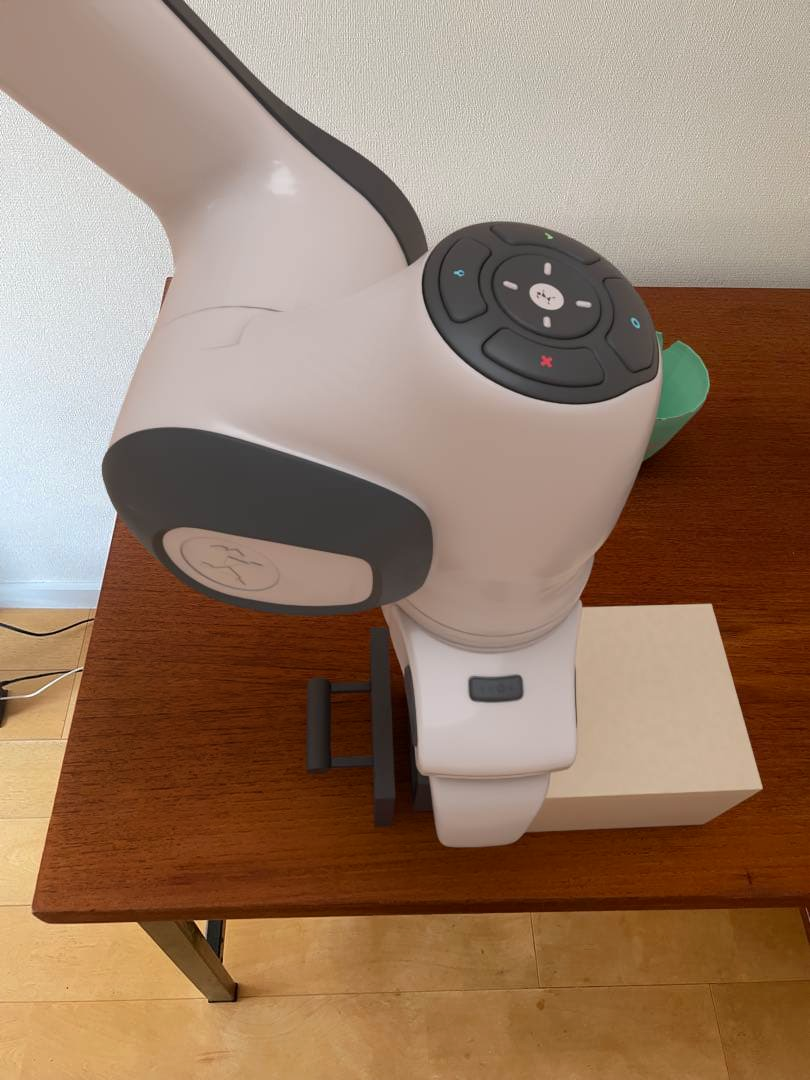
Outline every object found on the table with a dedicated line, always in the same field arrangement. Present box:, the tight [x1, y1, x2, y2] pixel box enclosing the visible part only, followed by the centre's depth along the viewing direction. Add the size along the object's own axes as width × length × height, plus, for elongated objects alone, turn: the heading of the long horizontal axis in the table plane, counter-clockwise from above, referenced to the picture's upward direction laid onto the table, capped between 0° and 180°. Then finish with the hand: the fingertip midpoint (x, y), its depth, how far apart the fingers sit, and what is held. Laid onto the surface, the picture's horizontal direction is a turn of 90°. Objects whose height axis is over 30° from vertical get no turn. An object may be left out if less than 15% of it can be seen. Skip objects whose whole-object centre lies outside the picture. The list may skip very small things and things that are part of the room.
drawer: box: [305, 626, 433, 828], centre depth 54 cm, size 18×11×8 cm, turn 93°
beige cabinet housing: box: [525, 603, 764, 833], centre depth 54 cm, size 15×12×10 cm
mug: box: [642, 330, 711, 463], centre depth 68 cm, size 15×10×10 cm
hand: (450, 686), depth 47 cm, fingers closed on block, 4 cm apart
